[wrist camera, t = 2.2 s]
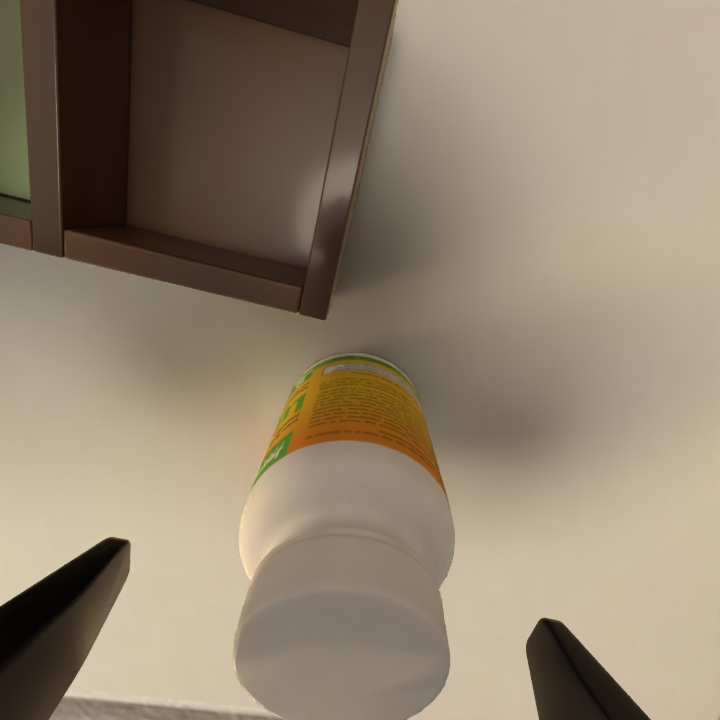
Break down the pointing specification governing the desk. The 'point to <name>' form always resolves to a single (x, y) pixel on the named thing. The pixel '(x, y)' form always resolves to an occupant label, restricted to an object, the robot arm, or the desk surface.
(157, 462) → the desk surface
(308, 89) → the organizer
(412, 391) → the supplement bottle
